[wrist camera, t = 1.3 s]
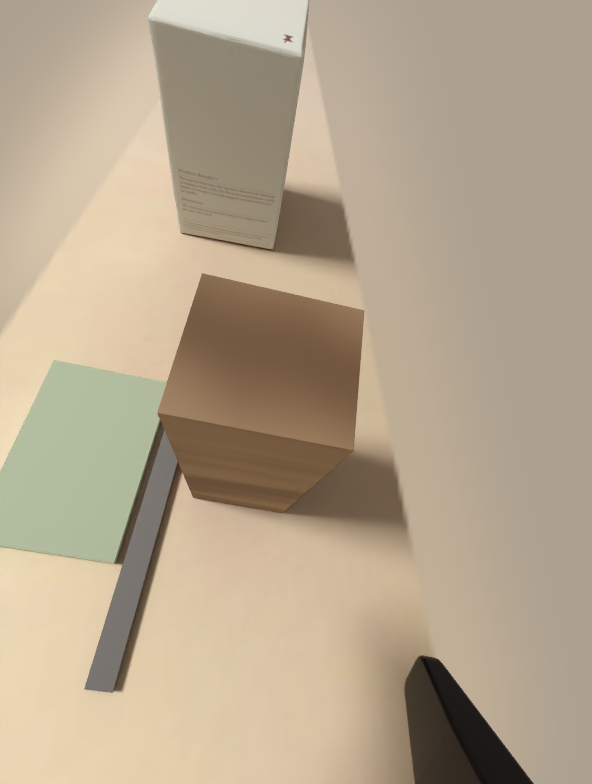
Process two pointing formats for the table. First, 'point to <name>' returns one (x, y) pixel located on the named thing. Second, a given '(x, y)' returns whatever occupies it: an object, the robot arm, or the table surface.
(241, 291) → the walnut post
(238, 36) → the supplement box
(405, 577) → the table surface
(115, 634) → the charcoal strip
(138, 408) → the mat
